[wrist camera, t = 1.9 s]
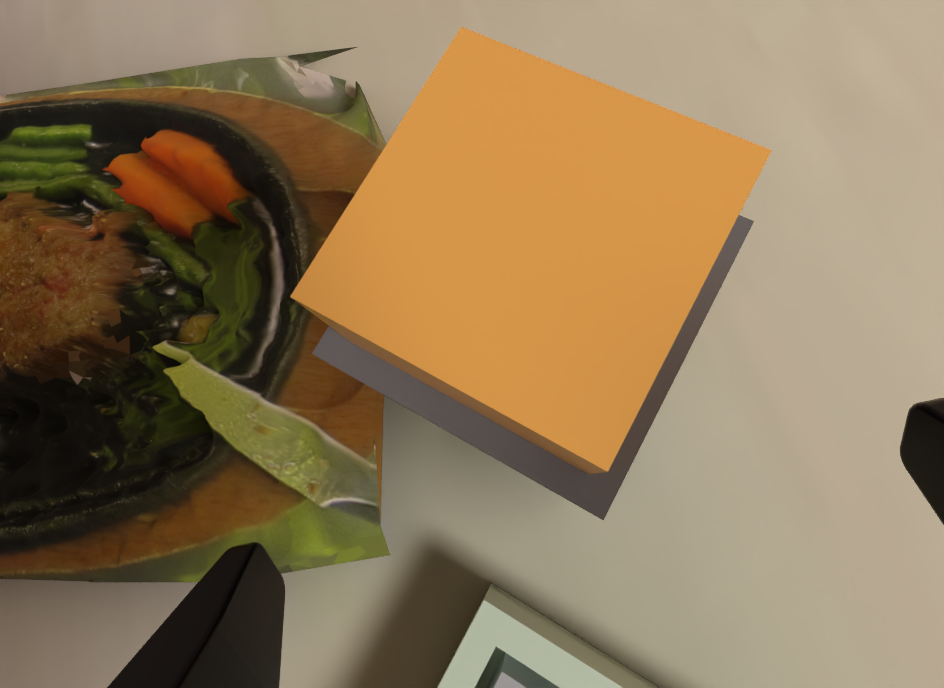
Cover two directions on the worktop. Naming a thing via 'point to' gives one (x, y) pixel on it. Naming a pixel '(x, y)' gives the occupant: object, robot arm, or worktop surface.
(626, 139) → the plug
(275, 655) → the robot arm
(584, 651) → the box
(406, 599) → the worktop surface
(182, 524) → the prepared meal
